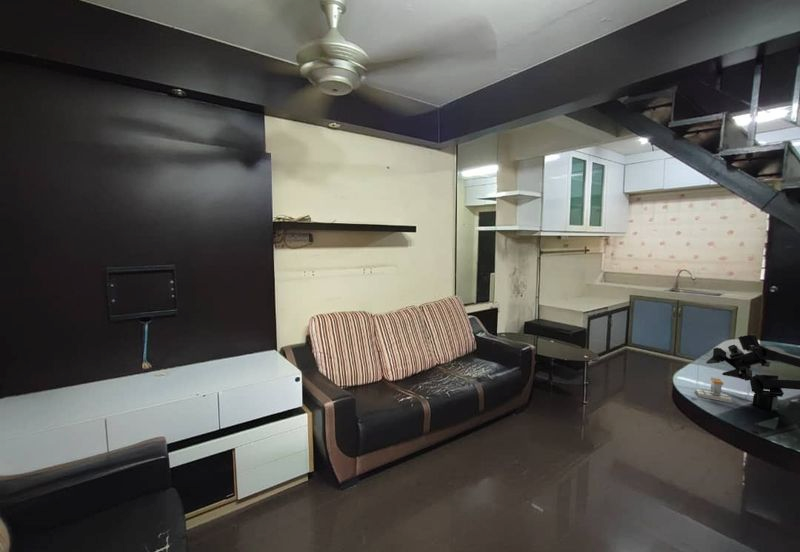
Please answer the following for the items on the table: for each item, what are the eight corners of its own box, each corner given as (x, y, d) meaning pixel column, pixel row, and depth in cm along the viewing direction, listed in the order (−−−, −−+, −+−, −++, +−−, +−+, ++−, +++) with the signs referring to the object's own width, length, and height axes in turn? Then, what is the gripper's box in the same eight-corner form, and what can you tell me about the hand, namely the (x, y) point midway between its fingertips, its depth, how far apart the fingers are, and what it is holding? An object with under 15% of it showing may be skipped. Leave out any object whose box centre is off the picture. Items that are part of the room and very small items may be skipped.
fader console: (726, 397, 163) (727, 394, 163) (731, 402, 158) (731, 399, 158) (695, 391, 169) (695, 388, 169) (698, 396, 164) (699, 393, 163)
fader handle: (717, 392, 164) (719, 379, 164) (721, 396, 160) (723, 382, 159) (709, 391, 166) (711, 377, 165) (712, 394, 161) (714, 380, 161)
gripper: (766, 358, 166) (731, 367, 179) (731, 334, 168) (699, 345, 181) (766, 377, 160) (730, 384, 173) (731, 352, 162) (697, 361, 175)
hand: (714, 368), depth 175 cm, fingers open, 9 cm apart
